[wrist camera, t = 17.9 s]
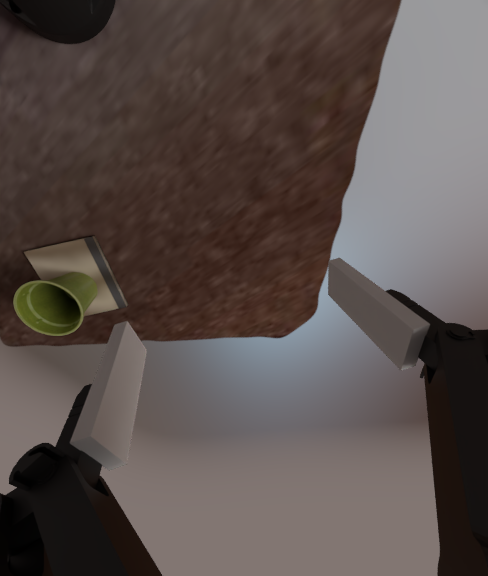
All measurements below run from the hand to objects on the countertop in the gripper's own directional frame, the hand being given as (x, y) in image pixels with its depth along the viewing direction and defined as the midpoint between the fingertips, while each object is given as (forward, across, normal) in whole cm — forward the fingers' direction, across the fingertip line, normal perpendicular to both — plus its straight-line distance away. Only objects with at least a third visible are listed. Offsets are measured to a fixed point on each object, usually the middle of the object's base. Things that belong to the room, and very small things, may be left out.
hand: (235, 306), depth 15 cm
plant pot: (+30, -26, -8) cm, 41 cm away
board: (+31, -26, -7) cm, 41 cm away
